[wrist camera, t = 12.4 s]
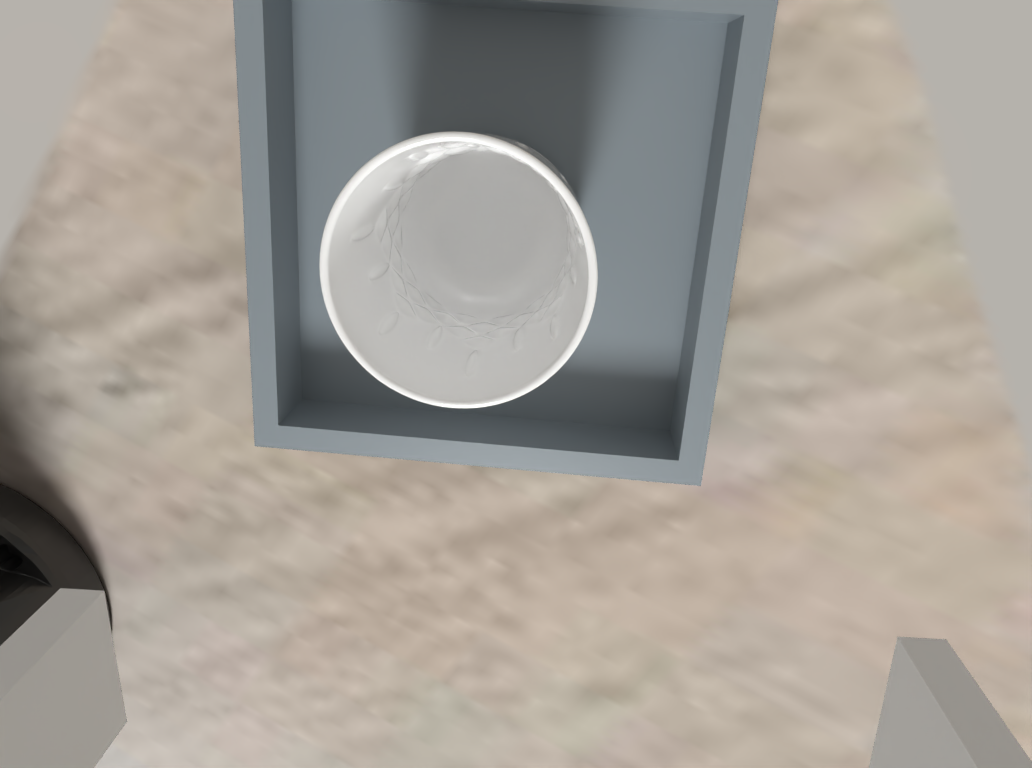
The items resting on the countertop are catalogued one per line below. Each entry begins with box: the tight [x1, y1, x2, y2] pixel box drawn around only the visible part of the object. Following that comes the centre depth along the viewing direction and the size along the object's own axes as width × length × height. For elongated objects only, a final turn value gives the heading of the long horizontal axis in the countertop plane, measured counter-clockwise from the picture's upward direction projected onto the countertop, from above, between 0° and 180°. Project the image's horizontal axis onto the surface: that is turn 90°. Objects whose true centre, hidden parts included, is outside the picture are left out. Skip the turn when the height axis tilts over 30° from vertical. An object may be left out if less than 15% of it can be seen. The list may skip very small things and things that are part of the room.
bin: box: [233, 0, 778, 486], centre depth 31 cm, size 18×18×4 cm
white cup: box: [319, 131, 598, 408], centre depth 27 cm, size 8×8×10 cm
